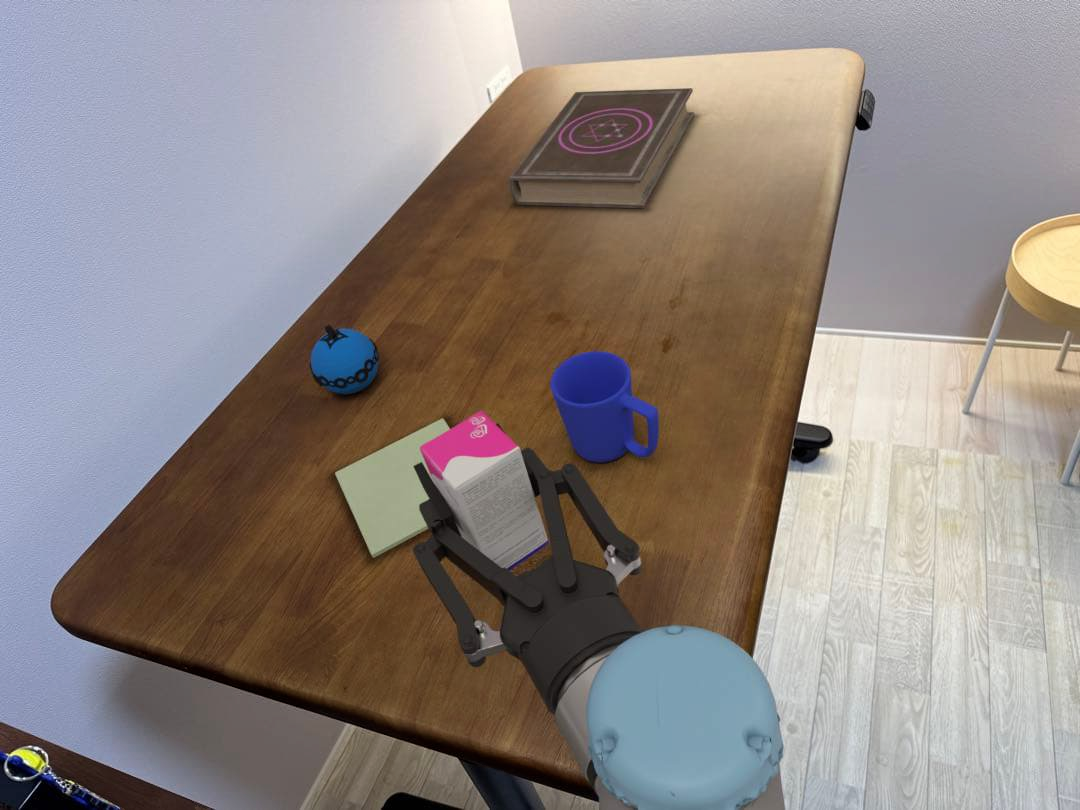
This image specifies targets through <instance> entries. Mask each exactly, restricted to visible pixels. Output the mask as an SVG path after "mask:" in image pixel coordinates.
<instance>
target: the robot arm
mask: <svg viewBox="0 0 1080 810" xmlns="http://www.w3.org/2000/svg"><path fill="white" fill-rule="evenodd" d="M495 424H496V425H497V426H498V427H499V428H500V429H501V430H502V431H503V432H504V433H505V434H506V432H505V430H504V429H503V428H502V427H501V426H500V424H499V423H498V422H497V423H495ZM521 454H522V457H523V460H524V464H525V467H526V470H527V473H528V476H529V480H530V483H531V487H532V489H533V492H534V496H535V498H537V497H539V496H540V500H541V505H542V510H543V514H544V519H545V523H546V527H547V528H546V529H547V533H548V536H549V545H550V549H551V554H552V556H550V557H548V558H547V559H544V560H543V561H542V562H541V563H540V564H538V566H536V567H535V568H532V569H530V570H526V571H524V572H521V573H520V574H518V575H516V574H514V573H513V572H512V571H511V570H510V571H509V570H508V569H506V568H504V567H503V568H501V567H500V566H499V565H497V564H496V563H495V562H493V561H492V560H491V559H489V558H488V557H487V556H486V555H484V554H483V553H482V552H480V551H479V550H478V549H476V548H475V547H474V546H472V545H471V544H470V543H469V542H467V541H466V540H465V539H463V538H462V536H461V534H460V531H459V529H458V527H457V525H456V522H455V520H454V518H453V516H452V514H451V512H450V510H449V509H448V507H447V505H446V503H445V502H444V500H443V498H442V496H441V495H440V493H439V491H438V489H437V488H436V486H435V484H434V482H433V481H432V479H431V477H430V475H429V474H428V472H427V470H426V468H425V467H424V465H423V463H422V462H420V463H418V464H417V465H415V466H413V467H414V469H415V471H416V473H417V475H418V478H419V480H420V482H421V484H422V486H423V488H424V490H425V492H426V494H427V495H428V497H429V500H427V501H425V502H423V503H421V504H419V510H420V512H421V514H422V516H423V518H424V521H425V522H426V524H427V526H428V528H429V529H428V530H429V533H430V534H429V537H428V538H427V539H426V541H420V542H418V543H416V544H415V545H414V546H413V547H412V553H413V554H414V557H415V559H416V560H417V563H418V564H419V566H420V568H421V570H422V572H423V573H424V576H425V577H426V578H427V580H428V582H429V584H430V585H431V587H432V588H433V590H434V592H435V593H436V595H437V596H438V598H439V600H440V601H441V603H442V604H443V607H445V609H446V610H447V611H446V612H448V614H449V616H450V618H451V619H452V620H453V622H454V623H455V625H456V632H457V633H456V634H457V641H458V645H459V648H460V649H461V651H462V653H463V655H464V657H465V658H466V661H467V662H468V664H469V666H471V667H472V668H480V667H482V666H483V665H484V664H485V662H486V660H487V657H489V656H492V655H496V654H498V653H499V654H500V653H502V652H505V651H506V652H507V653H508V655H510V656H512V657H514V658H516V659H518V661H520V663H521V664H522V665H523V667H524V670H525V671H526V673H527V675H528V676H529V678H530V680H531V682H532V684H533V686H534V687H535V689H536V690H537V693H538V694H539V696H540V698H541V700H542V702H543V703H544V705H545V707H546V708H547V710H548V712H549V713H550V714H552V715H554V722H555V724H556V725H557V728H558V730H559V732H560V733H561V735H562V737H563V739H564V741H565V743H566V745H567V746H568V748H569V750H570V752H571V753H572V756H573V757H574V759H575V761H576V763H577V765H578V766H579V768H580V770H581V772H582V774H583V775H584V777H585V779H586V781H588V783H589V785H590V786H591V788H592V791H593V792H594V793H595V794H596V795H597V796H598V810H786V804H785V797H784V792H783V791H784V790H783V784H782V775H781V766H780V765H781V764H780V763H781V761H782V759H783V756H784V746H785V745H784V740H783V737H782V731H781V728H780V721H781V717H780V715H779V713H778V710H777V709H778V708H777V702H776V699H775V696H774V691H773V690H772V687H771V685H770V683H769V680H768V679H767V676H766V675H765V674H764V671H763V670H762V669H761V667H760V666H759V664H758V663H757V662H756V661H755V660H754V658H753V657H752V656H751V655H750V654H749V653H748V652H747V651H746V650H744V649H743V648H742V647H741V646H740V645H738V644H737V643H735V642H734V641H732V640H731V639H729V638H727V637H726V636H724V635H722V634H719V633H718V632H716V631H712V630H709V629H705V628H701V627H697V626H692V625H691V626H690V625H678V624H672V625H666V626H658V627H653V628H649V629H646V630H645V629H644V628H643V627H642V626H641V625H640V623H639V621H638V620H637V619H636V617H635V615H633V613H632V611H631V610H630V609H629V607H628V606H627V605H626V603H625V601H623V599H622V598H621V596H620V591H619V587H618V586H619V584H620V583H622V581H624V579H626V578H627V576H629V575H630V576H637V575H639V574H641V573H642V571H643V567H644V566H643V562H642V556H641V551H640V546H639V544H638V542H637V541H635V540H634V539H632V538H631V537H630V536H628V535H627V534H625V533H624V532H622V531H621V530H619V529H618V528H617V526H616V525H615V523H614V521H613V520H612V518H611V516H609V514H608V512H607V510H606V509H605V508H604V506H603V505H602V503H601V502H600V500H599V499H598V497H597V496H596V494H595V493H594V491H593V489H592V488H591V487H590V485H589V483H588V482H587V481H586V479H585V477H584V476H583V475H582V473H581V471H580V469H579V467H577V465H576V464H575V463H571V462H570V463H569V462H568V463H565V464H564V465H563V466H562V467H561V469H558V470H550V469H549V468H548V467H546V464H544V462H543V461H542V460H541V459H540V457H539V456H538V455H537V453H536V452H535V450H534V449H532V448H530V447H526V448H524V449H522V450H521ZM565 494H567V496H568V497H569V498H570V500H571V502H572V503H573V505H574V506H575V508H576V509H577V511H578V513H579V514H580V516H581V518H582V519H583V521H584V522H585V524H586V525H587V526H586V527H588V529H589V530H590V532H591V533H592V535H593V537H594V538H595V540H596V542H597V544H598V545H599V546H600V548H601V550H602V551H603V558H604V562H605V566H606V568H602V567H599V566H596V565H592V564H589V563H586V562H583V561H579V560H576V559H574V556H573V552H572V548H571V543H570V539H569V535H568V531H567V526H566V522H565V518H564V514H563V509H562V505H561V501H560V497H559V496H561V495H565ZM445 558H446V559H447V560H448V561H449V562H451V563H452V564H453V565H455V566H456V567H457V568H458V569H459V570H461V571H462V572H463V573H464V574H466V575H467V576H468V577H470V578H471V579H472V580H473V581H474V582H475V583H477V584H478V585H479V586H480V587H481V588H483V589H484V590H485V591H487V592H488V593H489V594H490V595H492V596H493V597H494V598H495V599H497V601H498V602H499V603H500V604H501V605H502V606H503V607H504V609H503V612H502V613H503V614H502V618H501V624H500V628H499V630H494V629H492V628H491V627H490V625H489V624H488V622H486V621H482V620H480V619H477V620H476V618H475V616H474V614H473V612H472V610H471V608H470V606H469V604H468V603H467V601H466V600H465V598H464V596H462V594H461V592H460V591H459V589H458V587H457V586H456V585H455V583H454V582H453V580H452V579H451V577H450V575H449V574H448V572H447V571H446V569H445V568H444V566H443V565H442V563H441V562H442V561H443V560H444V559H445Z"/></svg>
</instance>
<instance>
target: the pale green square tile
mask: <svg viewBox="0 0 1080 810" xmlns="http://www.w3.org/2000/svg"><path fill="white" fill-rule="evenodd" d="M450 429H451V428H450V427H449V425H448V423H447V422H446V420H445V419H444V418H443V417H442V418H439V419H438V420H436V421H434V422H432V423H430V424H427V425H426V426H425V427H423V428H420V429H418V430H416V431H415V432H412V433H410V434H408V435H407V436H405V437H403V438H400V439H398V440H396V441H395V442H392V443H391V444H389V445H386V446H384V447H383V448H381V449H379V450H377V451H375V452H373V453H370V454H369V455H367V456H365V457H363V458H361V459H359V460H357V461H355V462H353V463H351V464H349V465H347V466H346V467H342V468H341V469H339V470H337V471H336V472H334V474H335V477H336V479H337V481H338V484H339V486H340V488H341V491H342V493H343V495H344V498H345V499H346V502H347V504H348V506H349V509H350V510H351V512H352V515H353V517H354V519H355V522H356V524H357V527H358V528H359V531H360V533H361V535H362V537H363V539H364V542H365V545H366V546H367V549H368V551H369V553H370V556H371V557H372V559H375V558H376V557H379V556H380V555H383V554H384V553H386V552H388V551H389V550H391V549H393V548H395V547H397V546H399V545H400V544H403V543H405V542H406V541H408V540H410V539H412V538H413V537H415V536H417V535H419V534H421V533H423V532H425V531H427V530H429V528H428V526H427V524H426V522H425V521H424V518H423V516H422V514H421V512H420V510H419V504H421V503H423V502H425V501H427V500H429V497H428V495H427V494H426V492H425V490H424V488H423V486H422V484H421V482H420V480H419V478H418V475H417V473H416V471H415V469H414V467H413V466H415V465H417V464H418V463H420V462H422V463H423V465H424V467H425V468H426V470H427V472H428V474H429V475H430V477H431V474H430V472H429V470H428V467H427V465H426V463H425V460H424V458H423V455H422V453H421V451H420V446H422V445H424V444H425V443H427V442H429V441H431V440H432V439H434V438H436V437H438V436H439V435H441V434H443V433H445V432H446V431H448V430H450ZM431 479H432V477H431ZM432 481H433V479H432ZM433 482H434V481H433Z"/></svg>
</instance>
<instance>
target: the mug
mask: <svg viewBox="0 0 1080 810" xmlns="http://www.w3.org/2000/svg"><path fill="white" fill-rule="evenodd" d="M632 388H633V387H632V373H631V368H630V366H629V365H628V363H627V362H626V361H625V360H624V359H623V358H621V356H619V355H617V354H615V353H612V352H609V351H608V352H607V351H601V350H599V351H597V350H596V351H595V350H593V351H586V352H582V353H578V354H575V355H573V356H571V357H568V358H567V359H566V360H564V361H563V362H562V363H560V364H559V365H558V366H557V368H556V369H555V370H554V371H553V373H552V375H551V378H550V390H551V393H552V395H553V398H554V401H555V405H556V406H557V409H558V412H559V414H560V417H561V420H562V422H563V426H564V428H565V431H566V433H567V436H568V438H569V441H570V445H571V446H572V449H573V450H574V451H575V452H576V453H577V454H578V455H579V456H580V457H581V458H583V459H584V460H586V461H588V462H592V463H597V464H598V463H610V462H612V461H615V460H617V459H619V458H621V457H622V456H623V455H625V454H626V453H627V452H628V451H629V452H630V453H632V454H634V456H637V457H639V458H643V459H644V458H649V457H650V456H651V455H652V454H653V453H654V452H655V451H656V449H657V447H658V444H659V443H658V442H659V435H660V434H659V431H660V429H659V426H660V425H659V422H660V421H659V411H658V408H657V407H656V406H654V405H652V404H650V403H648V402H646V401H645V400H642V399H641V398H638V397H636V396H634V395H633V389H632ZM634 412H635V413H636V414H638V415H640V416H642V417H644V419H646V424H647V447H646V446H643V445H641V444H640V443H638V442H637V441H636V440H635V439H634V437H635V425H634V423H635V422H634Z"/></svg>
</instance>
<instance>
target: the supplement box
mask: <svg viewBox="0 0 1080 810" xmlns="http://www.w3.org/2000/svg"><path fill="white" fill-rule="evenodd" d="M496 424H497V423H495V422H494V421H493V420H492V419H491V418H490V417H489V416H488V415H487V414H486V413H485V412H484V411H483V410H480V411H478V412H477V413H475V414H473V415H471V416H469V417H468V418H466V419H465V420H463V421H461V422H460V423H458V424H456V425H455V426H452V428H450V430H448V431H446V432H445V433H443V434H441V435H439V436H438V437H436V438H434V439H432V440H431V441H429V442H427V443H425V444H424V445H422V446H420V451H421V453H422V455H423V458H424V460H425V463H426V465H427V467H428V470H429V472H430V474H431V477H432V479H433V481H434V484H435V486H436V488H437V489H438V491H439V493H440V495H441V496H442V498H443V500H444V502H445V503H446V505H447V507H448V509H449V510H450V512H451V514H452V516H453V518H454V520H455V522H456V525H457V527H458V529H459V531H460V534H461V536H462V538H463V539H465V540H466V541H467V542H469V543H470V544H471V545H472V546H474V547H475V548H476V549H478V550H479V551H480V552H482V553H483V554H484V555H486V556H487V557H488V558H489V559H491V560H492V561H493V562H495V563H496V564H497V565H499V566H500V567H501V568H503V567H504V568H506V569H508V570H509V571H510V572H511V571H512V570H514V569H515V568H516V567H518V566H519V565H521V564H522V563H524V562H525V561H527V560H528V559H529V558H531V557H533V556H535V555H536V554H537V553H539V552H540V551H541V550H543V549H545V548H546V547H547V546H548V545H549V539H548V536H547V532H546V530H545V529H546V528H545V526H544V522H543V519H542V516H541V512H540V509H539V506H538V503H537V500H536V497H535V496H534V492H533V489H532V487H531V483H530V480H529V476H528V473H527V470H526V467H525V464H524V460H523V457H522V454H521V451H522V450H521V448H520V446H518V445H517V444H516V443H515V441H513V440H512V439H511V438H510V436H509V435H508V434H507V433H506V432H505V431H504V430H503V431H504V432H505V433H504V432H503V431H502V430H501V429H500V428H499V427H498V426H497V425H496Z"/></svg>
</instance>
